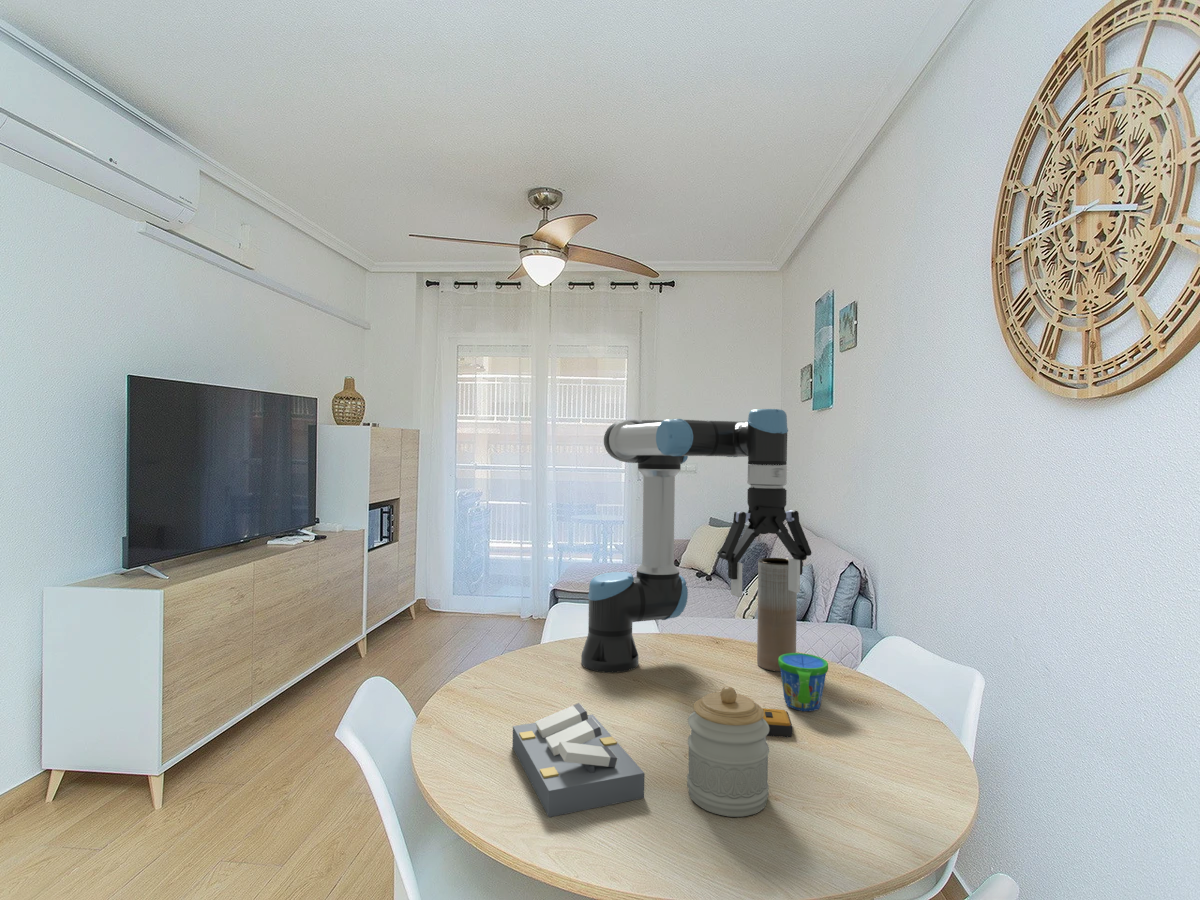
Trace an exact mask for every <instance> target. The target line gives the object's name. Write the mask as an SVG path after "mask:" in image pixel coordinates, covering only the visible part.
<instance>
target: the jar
mask: <svg viewBox="0 0 1200 900" xmlns="http://www.w3.org/2000/svg"><path fill="white" fill-rule="evenodd" d="M736 691H737V690H736V689H734V688H733V687H731V686H724V687H722V688H721V690H720V691H714V692H711V693H707V694H706V695H704V696H703V697H701V698H699V699H697V700H696V701H695V702H694V703H693V706H692V709H693V712H692V713H690V715H689V716H688V719H687V723H688V727H689V728H690V734H689V736H688V738H687V745H688V764H687V765H688V771H687V772H688V773H687V776H686V780H687V781H686V783H687V784H686V785H687V789H688V795H689V797H690V799H691V801H693V802H694V804H695V805H697V806H698V807H700V808H701V809H703V810H705V811H707V812H708V813H712V814H715V815H718V816H724V817H731V818H733V817H735V818H740V817H741V818H742V817H747V816H749V817H750V816H753V815H755V814H758V813H759V812H760V811H762V810H764V808H765V807H766V805H767V803H768V797H769V794H770V793H769V789H770V787H769V781H768V777H769V775H768V773H769V753H770V746H769V744H768V743H767V737H768V736H767V735H768V733H769V725H768V723H767V722H766V721H765V720H764V719H763V716H764V710H763V709H762V708H763V707H761V706H760V705H759V704H758V703H756V702H755V701H754V700H753V699H752V698H750V697H749V696H746V695H744V694H741V693H737V692H736Z"/></svg>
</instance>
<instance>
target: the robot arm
mask: <svg viewBox="0 0 1200 900" xmlns="http://www.w3.org/2000/svg"><path fill="white" fill-rule="evenodd" d="M788 432H789V429H788V416H787V412H786V411H785V410H783V409H779V408H758V409H757V408H756V409H751V410H750V411H749V412H748V417H747V420H745V421H744V420H742V421H733V420H699V419H682V418H672V419H671V418H670V419H663V420H654V419H652V420H651V419H647V420H646V419H622V420H618V421H615V422H614V423H612V424H611V425H609V427H608V428H607V429H606V430H605V432H604V435H603V446H604V449H605V451H606V452H607V454H608V455H609V456H610V457H611V458H613V459H615V460H617V461H619V462H624V463H631V464H637V470H638V471H639V472H640V473H641V474H642V478H643V482H642V485H643V486H642V487H643V490H642V491H643V493H642V553H641V554H642V556H641V557H642V560H641V562H642V563H641V564H640V565H639V566H638V567H637V568H636V577H634V576H633V574H632V573H631V572H628V571H618V572H617V571H611V572H605V573H601V574H598V575H597V576H594V577H593V578H592V579H591V580H590V582H589V589H588V595H587V598H588V628H587V629H588V631H587V636H586V639H585V642H584V645H583V649H582V652H581V655H580V656H581V658H580V659H581V662H580V663H581V666H583V667H584V668H585V669H588V670H590V671H594V672H599V673H610V674H611V673H613V674H614V673H623V672H624V673H625V672H628V671H631V670H634V669H636V668H637V667H638V666H639V658H640V657H639V652H638V649H637V645H636V643H635V640H634V636H633V623H635V622H636V623H637V622H638V623H639V622H649V621H666V620H669V619H675V618H678V617H679V616H681V614H682V613H683V612H684V610H685V608H686V607H687V603H688V598H689V592H688V591H689V590H688V586H687V581H686V579H685V578H684V577H683V576H682V575H680V569H679V568H678V567H677V566H676V565H675V563H674V562H675V500H676V499H675V496H676V494H675V493H676V491H675V490H676V489H675V487H676V486H675V484H676V483H675V481H676V478H675V477H676V475H678V473H679V472H680V471H681V464H684V463H686V461H688V458H689V457H726V458H738V457H739V458H740V457H747V484H748V485H750V487H748V489H747V501H746V502H747V505H748V511H747V512H744V511H740V510H735V511H734V512H733V521H732V524H731V527H730V528H729V531H728V533H727V536H726V538H725V540H724V542H723V543H722V544H723V545H722V547H721V549H720V552H719V554H718V557H719V558H720V559H723V560H725V561H727V576H728V579H729V580H731V582H730V584H731V585H730V594H731V595H732V596H735V597H736V598H742V597H743V563H742V562H740V560H741V558H743V556H744V554H745V553H747V551H748V549H749V548H750V546H751V545H752V544H753V542H754V540H755V539H756V538H757V537H759V536H760V535H768V534H771V535H772V534H773V535H776V536H777V537H778V538H779V540H780V542H781V543H782V544H783V546H784V547H785V549H786V550H787V551H788V552H789V554H790V556H791V557H788V558H787V559H788V590H790V591H793V592H796V593H797V594H799V593H800V592H801V576H802V574H803V568H804V567H803V565H804V564H803V563H804V561H806V560H807V557H809V556H811V555H812V550H811V547H810V545H809V542H808V540H807V538H806V535H805V532H804V530H803V528H802V525H801V523H800V516H799V511H798V510H793V509H787V510H786V509H785V508H786V506H787V491H788V490H787V489H786V488H785V487H784V486H786V485H787V483H788V482H787V480H788V479H787V474H788V472H787V470H788V469H787V467H788V466H787V465H788V464H787V462H788V461H787V460H788ZM785 521H786V523H787V526H788V527H786V525H785V524H784V522H785ZM748 522H749V523H748ZM746 523H748V524H747V526H746ZM745 526H746V527H745ZM744 528H745V529H744ZM788 528H789V530H788ZM743 531H744V532H743ZM789 531H790V533H789ZM742 533H743V534H742Z"/></svg>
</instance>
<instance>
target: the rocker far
mask: <svg viewBox="0 0 1200 900" xmlns="http://www.w3.org/2000/svg"><path fill="white" fill-rule="evenodd" d="M588 715H589V714H588V711H587V710H586V709H585V707H584V706H583V705H582V704H581V703H580V702H578V703H576V704H573V705H570V706H568V707H566V708H564V709H561V710H559V711H556V712H554V713H552V714H550V715H547V716H545V717H542V718H541V719H538V720H536V721H535V722H534V723H536V727H537V730H538V732H539V733H540V735H541V736H542V738H545V737H547V736H549V735H552V734H554V733H556V732H559V731H561V730H563V729H566V728H568V727H570V726H573V725H575V724H577V723H579V722H582V721H584V720H587V719H588Z"/></svg>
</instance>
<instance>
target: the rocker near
mask: <svg viewBox="0 0 1200 900" xmlns="http://www.w3.org/2000/svg"><path fill="white" fill-rule="evenodd" d="M557 751H558V752H559V754H560V755H561V757H562V758H563V760H564V761H565V762H571V763H580V764H589V765H598V766H607V767H614V768H615V767H616V763H617V759H618V758H617V757H616V756H615V754H614V753H613V752H612V751H611V750H610V748H609V747H603V746H594V745H586V744H577V743H569V742H561V741H560V742H559V746H558V750H557Z"/></svg>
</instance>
